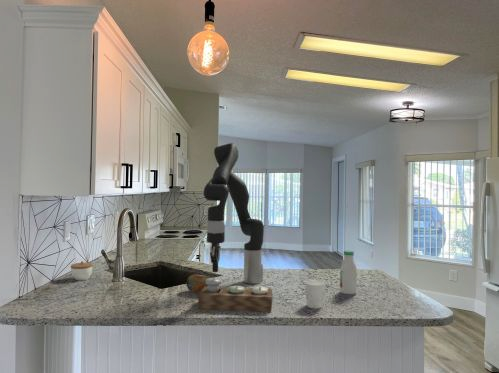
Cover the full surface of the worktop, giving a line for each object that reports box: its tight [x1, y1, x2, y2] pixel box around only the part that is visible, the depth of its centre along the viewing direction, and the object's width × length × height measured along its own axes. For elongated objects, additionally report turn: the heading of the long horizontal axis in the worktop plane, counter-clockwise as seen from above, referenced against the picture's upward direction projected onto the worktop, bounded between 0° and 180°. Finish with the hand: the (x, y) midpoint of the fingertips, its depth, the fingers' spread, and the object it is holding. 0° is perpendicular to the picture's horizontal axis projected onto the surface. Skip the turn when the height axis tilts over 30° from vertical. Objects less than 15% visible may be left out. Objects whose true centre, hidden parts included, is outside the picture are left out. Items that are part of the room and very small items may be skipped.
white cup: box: [305, 279, 326, 310], centre depth 156 cm, size 8×8×10 cm
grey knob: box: [206, 277, 222, 293], centre depth 156 cm, size 7×7×5 cm
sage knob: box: [228, 285, 245, 294], centre depth 155 cm, size 7×7×5 cm
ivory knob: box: [251, 286, 269, 295], centre depth 154 cm, size 7×7×5 cm
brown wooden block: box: [197, 286, 273, 313], centre depth 155 cm, size 30×12×6 cm, turn 85°
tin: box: [186, 273, 213, 294], centre depth 173 cm, size 15×3×8 cm, turn 62°
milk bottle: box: [339, 249, 358, 296], centre depth 176 cm, size 8×8×20 cm
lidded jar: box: [70, 260, 94, 281], centre depth 196 cm, size 11×11×9 cm
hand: (215, 271), depth 156 cm, fingers closed
